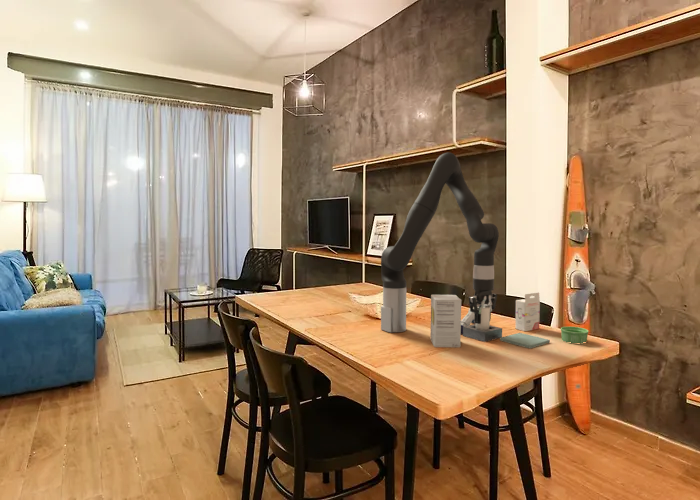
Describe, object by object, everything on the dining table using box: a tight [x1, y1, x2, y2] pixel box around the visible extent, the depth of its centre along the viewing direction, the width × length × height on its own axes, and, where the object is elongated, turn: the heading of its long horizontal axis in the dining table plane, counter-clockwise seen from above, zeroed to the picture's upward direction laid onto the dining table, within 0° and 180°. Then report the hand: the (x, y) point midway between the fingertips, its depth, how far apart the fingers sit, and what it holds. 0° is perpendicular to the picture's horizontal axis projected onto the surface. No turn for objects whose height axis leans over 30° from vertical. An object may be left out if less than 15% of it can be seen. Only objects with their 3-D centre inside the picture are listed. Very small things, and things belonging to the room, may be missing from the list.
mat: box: [499, 332, 551, 349], centre depth 157 cm, size 12×12×1 cm
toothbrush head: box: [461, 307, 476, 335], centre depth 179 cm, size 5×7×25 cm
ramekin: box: [560, 325, 589, 344], centre depth 157 cm, size 9×9×4 cm
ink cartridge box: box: [515, 292, 541, 332], centre depth 174 cm, size 9×5×15 cm, turn 117°
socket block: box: [462, 323, 503, 343], centre depth 163 cm, size 10×10×4 cm
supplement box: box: [430, 294, 462, 348], centre depth 154 cm, size 10×9×17 cm
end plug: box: [475, 306, 491, 331], centre depth 163 cm, size 5×5×11 cm
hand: (482, 322), depth 163 cm, fingers closed on end plug, 5 cm apart
